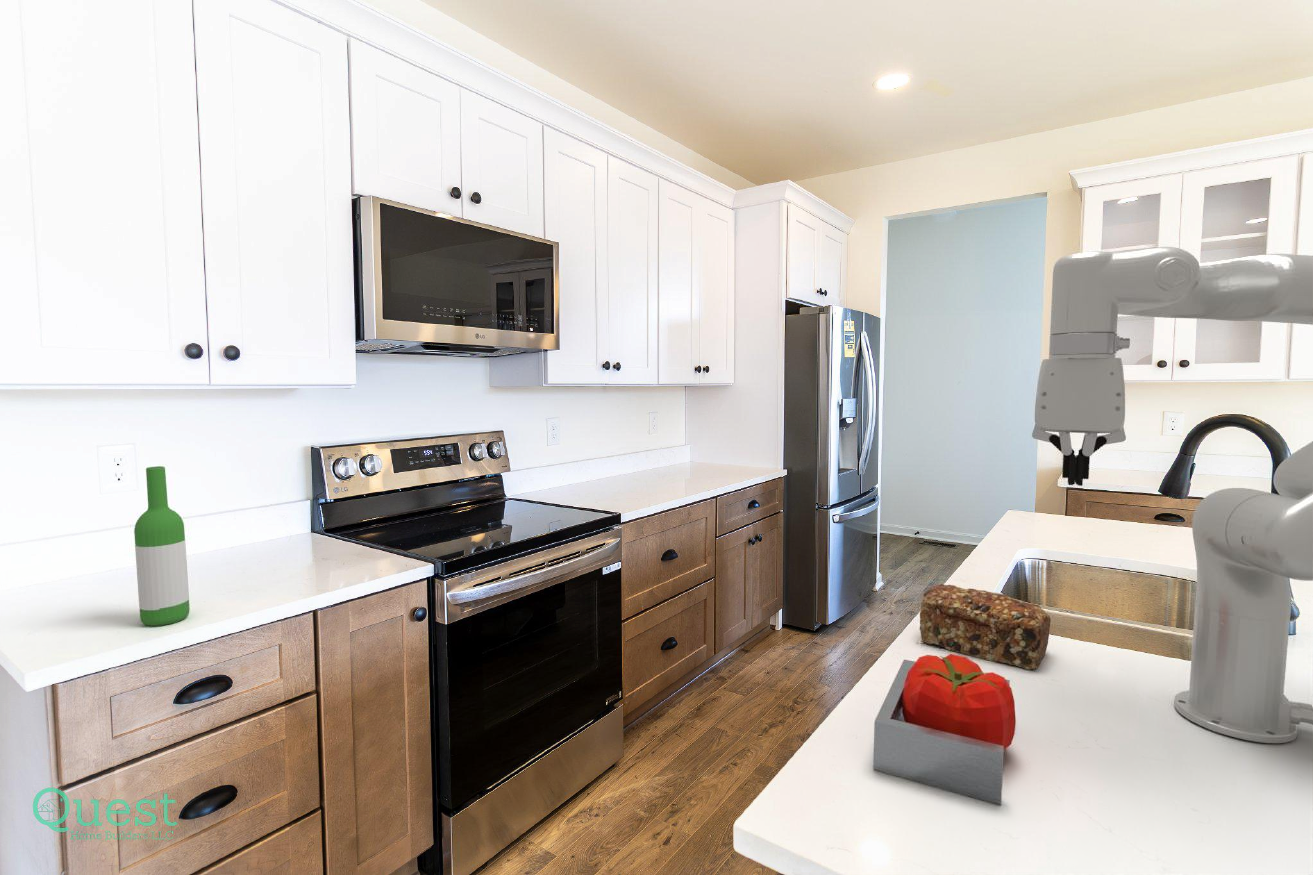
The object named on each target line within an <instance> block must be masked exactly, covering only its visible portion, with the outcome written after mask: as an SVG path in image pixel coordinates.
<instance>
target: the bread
mask: <svg viewBox="0 0 1313 875" xmlns="http://www.w3.org/2000/svg"><path fill="white" fill-rule="evenodd" d="M1051 620H1052V619H1051V616H1050V614H1048V613H1047V612H1045V610H1044V609H1043V608H1042V607H1041V606H1040V605H1038V604H1034V603H1031V602H1030V603H1029V602H1026V601H1023V600H1021V599H1015V598H1012V597H1010V596H1008V595H1007V594H1003V593H1000V592H993V591H988V590H982V589H975V588H963V587H959V586H956V585H953V584H942V583H941V584H937V585H934V586H932V587H930V588H929V589H928V590H927V591H925V592H924V593H923V599H922V601H921V604H920V612H919V632H920V638H921V642H923V643H926V644H927V645H929V646H931V645H937V646H939V647H941V648H943V649H944V648H945V649H946V650H949V651H952V652H956V653H958V654H960V653H961V654H964V655H966V656H971V657H974V658H977V659H981V660H984V661H989V662H992V663H1002V664H1008V665H1010V666H1015V667H1016V666H1017V667H1020V668H1023V669H1025V670H1036V669H1037V668H1038V667H1039V664H1040V662H1041V661H1042V660H1043V659H1044V657H1045V656H1046V652H1047V647H1048V644H1049V638H1050V628H1051V622H1052V621H1051Z"/></svg>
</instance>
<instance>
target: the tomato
mask: <svg viewBox="0 0 1313 875" xmlns="http://www.w3.org/2000/svg"><path fill="white" fill-rule="evenodd" d="M1006 680H1007V679H1006V678H1005V677H1004V676H1002V675H1000V674H997V673H995V672H993V671H992V672H984V671H983V670H982V668H981V667H980V665H979V664H978V663H976V662H974V661H972V660H970V659H969V658H967V657H965V656H962V655H957V654H952V653H950V654H948V655H946V656H944V657H943V656H942V655H939V656H937V655H932V654H926V655H923V656H919V657H918V658H917V660H915V664H914V665H913V666H912V668H911V669H910V670H909V671H908V674H907V677H906V680H905V683H904V690H903V698H902V714H903V717H904V720H905V722H906V723H910V724H914V725H918V726H922V727H926V728H931V729H935V730H939V731H943V732H947V733H951V734H955V735H960V736H964V737H968V738H972V739H976V740H980V741H984V742H989V743H993V744H997V745H1001V746H1004V752H1005V751H1006V749H1007V748H1009V747H1010V745H1012V743H1013V739H1014V737H1015V733H1016V724H1017V722H1016V721H1017V720H1016V708H1015V706H1016V704H1015V698H1014V694H1013V690H1012V687H1011V686H1009V684H1008V682H1007V681H1006Z"/></svg>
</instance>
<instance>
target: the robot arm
mask: <svg viewBox="0 0 1313 875" xmlns="http://www.w3.org/2000/svg"><path fill="white" fill-rule="evenodd" d="M1051 286H1052V288H1051V290H1052V291H1051V306H1050V328H1049V329H1050V331H1049V348H1048V349H1049V350H1048V359H1047V358H1046V359H1042V361H1041V365H1040V369H1039V373H1038V377H1037V378H1038V380H1037V387H1036V396H1035V406H1034V423H1035V424H1034V427H1033V430H1032V432H1031V436H1032V438H1033V439H1035V440H1038V441H1042V442H1046V443H1051V445H1053V446H1054V447H1055V448H1056V449H1057V450H1058V451H1060V453H1061V454H1062V473H1061V474H1062V476H1061V477H1062V479H1067V485H1069V486H1073V485H1076V486H1080V487H1082V486H1083V485H1084V484H1083V483H1084V480H1089V478H1090V461H1091V459H1090V458H1091V457H1092V455H1093V454H1094V453H1095V452H1097V451H1098V450H1099V449H1101V448H1102V447H1103V446H1105V445H1110V444H1118V443H1124V442H1125V441H1126V439H1127V436H1126V431H1125V428H1124V425H1125V420H1126V419H1125V418H1126V385H1125V384H1126V382H1125V375H1124V367H1123V360H1122V357H1116V355H1117V352H1119V351H1121V350H1123V349H1125V350H1126V349H1130V345H1131V343H1130V342H1131V339H1130V338H1129V337H1128V338H1127V337H1126V338H1125V337H1124V338H1123V337H1120V335H1118V333H1117V332H1118V320H1119V317H1118V316H1119V315H1122V316H1123V315H1124V316H1135V317H1147V318H1163V319H1166V318H1167V319H1168V318H1169V319H1197V320H1203V319H1204V320H1216V321H1230V322H1231V321H1232V322H1263V323H1264V322H1267V323H1272V322H1273V323H1279V324H1280V323H1281V324H1299V325H1312V326H1313V255H1306V254H1305V255H1304V254H1293V253H1292V254H1290V253H1269V254H1268V253H1266V254H1258V255H1249V256H1243V257H1238V258H1233V259H1232V258H1231V259H1226V260H1218V261H1211V262H1210V261H1209V262H1199V261H1198V259H1197V258H1196V257H1195V255H1193V254H1192V253H1191V252H1189V251H1187V250H1185V249H1183V248H1179V247H1175V246H1158V247H1151V248H1144V249H1139V250H1138V249H1137V250H1132V251H1124V252H1123V251H1122V252H1109V251H1086V252H1078V253H1077V252H1076V253H1073V254H1072V253H1071V254H1067V255H1064V256H1062V257H1060V258H1059V259H1057V261H1056V262H1055V263H1054V266H1053V272H1052V285H1051ZM1050 432H1051V433H1050ZM1056 433H1058V434H1056ZM1072 433H1077V434H1079V433H1080V434H1084V436H1083V440H1082V443H1081V447H1080V448H1079V449H1078V454H1075V450H1074V449H1073V448H1072V447H1073V446H1072V441H1071V440H1072V439H1071V434H1072ZM1098 434H1101V435H1098ZM1102 434H1103V435H1102ZM1272 483H1273V485H1274V488H1275V490H1276V491H1277V493H1273V492H1268V491H1263V490H1260V489H1253V488H1246V487H1230V488H1223V489H1219V490H1217V491H1214V492H1212V493H1210V494H1208V495H1206V496H1205V497H1204V498H1203V499H1202V500H1200V502H1199V503H1198V505H1197V506H1196V508H1195V510H1194V512H1193V515H1192V521H1191V522H1192V523H1191V524H1192V525H1191V528H1192V539H1193V546H1194V551H1195V558H1196V589H1195V591H1196V592H1195V602H1194V603H1195V604H1194V615H1193V616H1194V617H1193V628H1192V629H1193V630H1192V642H1191V643H1192V644H1191V645H1192V646H1191V658H1190V659H1191V663H1190V674H1189V675H1190V678H1189V685H1188V686H1189V689H1188V690H1184V691H1181V692H1180V691H1179V692H1178V693H1177V694H1175V695H1174V702H1173V705H1174V708H1175V709H1176V710H1177V712H1178V713H1179V714H1180V715H1182V716H1183V717H1185V718H1186V719H1187V720H1188V721H1190V722H1193V723H1195V724H1196V725H1198V726H1200V727H1203V728H1205V729H1208V730H1210V731H1212V732H1215V733H1218V734H1221V735H1225V736H1228V737H1231V738H1235V739H1240V740H1244V741H1248V742H1249V741H1250V742H1256V743H1264V744H1285V743H1289V742H1292V741H1294V740H1295V739H1296V738H1297V737H1298V726H1297V725H1300V724H1301V723H1305V724H1310V725H1312V726H1313V704H1310V703H1304V702H1296V701H1291V700H1289V698H1287V697H1286V695H1285V682H1286V681H1285V680H1286V672H1287V670H1286V669H1287V668H1286V667H1287V656H1288V646H1289V632H1290V621H1291V614H1292V613H1291V612H1292V594H1291V593H1292V592H1291V587H1290V583H1289V579H1291V580H1294V581H1295V580H1296V581H1305V582H1306V581H1309V582H1310V581H1313V441H1311V442H1309V443H1307V444H1306V445H1304V446H1302V447H1301V448H1299V449H1298V450H1296V451H1295V452H1293V453H1292V454H1290V455H1288V456H1287V457H1286V458H1285V459H1284V460H1283V461H1281V463H1280V464H1279V465H1278V466H1277V468H1276V470H1275V472H1274V474H1273V482H1272Z"/></svg>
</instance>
